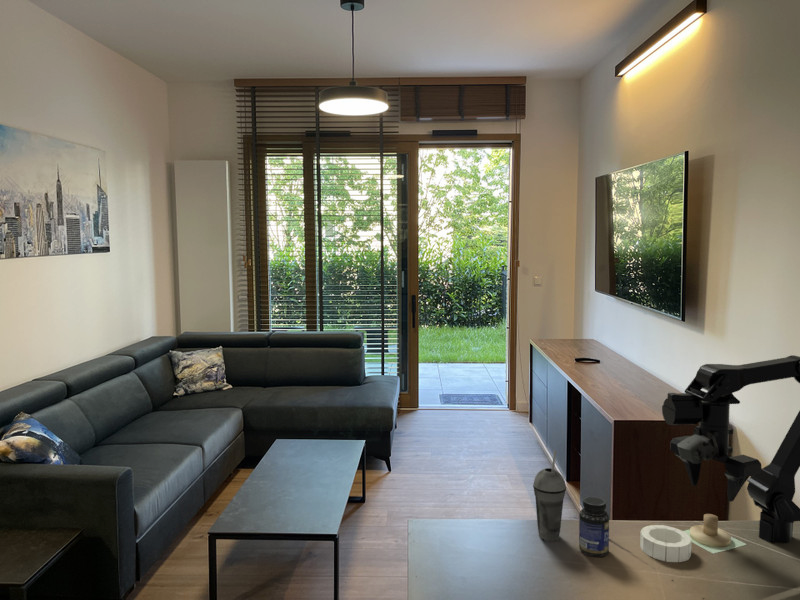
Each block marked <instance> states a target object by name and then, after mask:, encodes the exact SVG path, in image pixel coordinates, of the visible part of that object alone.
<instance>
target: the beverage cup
mask: <svg viewBox="0 0 800 600" xmlns="http://www.w3.org/2000/svg"><path fill="white" fill-rule="evenodd" d="M556 456H557V450H556V449H554V450H553V457H552V463H551V467H548V468H547V467H546V468H543V469H540V470H539V471H538V472H537V473H536V475H535V477H534V480H533V484H532V487H533V493H534V496H535V497H534V498H535V507H536V508H535V511H536V521H537V531H538V537H539V538H540V539H541V538H542V539H541V540H543V539H544V540H543V541H546V540H548V541H547V542H555V541H554V540H556V541H558V540H559V539H560V534H561V526H562V516H563V505H564V499H565V496H566V490H567V487H566V481H565V479H564V477H563V475H562V474H561V473H560V472H559V470H556V469H555V464H556V458H557V457H556ZM557 539H558V540H557Z"/></svg>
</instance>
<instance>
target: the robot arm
mask: <svg viewBox="0 0 800 600" xmlns="http://www.w3.org/2000/svg"><path fill="white" fill-rule="evenodd" d="M790 378H793V379H794V380H795V381H796V382H797V383H798V384H800V356H799V355H795V354H794V355H792V354H791V355H789V356H786V357H780V358H774V359H769V360H762V361H756V362H750V363H744V364H743V363H742V364H723V363H705V364H703V365H701V366H699V369H698V370H697V372H696V374H695V377H694V378H693V379H692V380H691V382H690V383H689V385H688V386H687V387H686V388H685V389H684V393H677V392H668V393H667V397H666V398H665V400H664V401H663V405H662V406H661V411H662V413H661V414H662V417H663V420H664V422H665V424H667V425H668V426H681V425H682V426H684V425H685V426H686V425H697V426H694V428H693V434H692V435H684V436H679V437H678V436H677V437H673V438H672V440H671V441H670V442H669V444H670V445H669V447H670V448H669V449H670V451H671V452H673V453H674V455H675V456H676V457H677V458H679V459H680V460H681V461H682V462H683V464H684V465H685V469H686V472H687V475H688V477H689V480H690V482H691V483H690V484H691V485H692V486H693V487H696V486H697V485H698V484H699V479H700V474H701V467H702V463H703V462H702V461H707V462H709V460H714V461H717V462H719V463H722V464H724V468H725V470H726V471H724V472H723V474H724V475H725V477H726V478H727V500H728V502H734V501H735V500H736V498H737V496H738V494H739V492H740V491H741V489H742V488H743V486H744V485H745V483H746V482H748V484H747V486H746V490H747V493H748V496H749V497H750V499H752V501H753V504H754V506H756V507H758V508H759V509H761V511H760V513H759V514H760V515H759V516H760V517H759V522H758V538H759V539H761V540H764V541H766V542H767V543H771V544H775V543H779V544H788V543H791V542H792V539H793V532H794V523H795V522H800V507H799V506H798V505H797V504H796V503H795V502H794V501H793V499H794V497H795V493H796V483H795V482H796V481H795V480H796V479H795V477H796V475H797V474H798V473H797V472H798V471H799V469H800V410H799V411H798V412H797V414H796V417H795V418H794V420H793V422H792V424H791V425H790V427H789V429H788V430H787V433H786V435H785V436H784V438H783V440H782V442H781V443H780V445H779V447H778V449H777V451H776V453H774V454H775V455H774V456H773V458H772V460H771V462H770V463H769V464H768V465H766V466H764V467H763V468H762V463H761V462H760V460H759V459H757V458H754V457H752V456H749V455H746V454H740V455H734V456H732V455H729V454H730V453H733V447H731V446H729V444H730V443H729V441H730V440H729V437H730V435H733V434H734V429H733V428H730V406H731V405H739V404H741V401H740V400H739V398H737V397H736V396H735V395H734V394H733V393H736V392H738V391H740V390H742V389H743V388H745V387H747V386H749V385H754V384H760V383H766V382H772V381H778V380H784V379H790Z"/></svg>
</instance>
